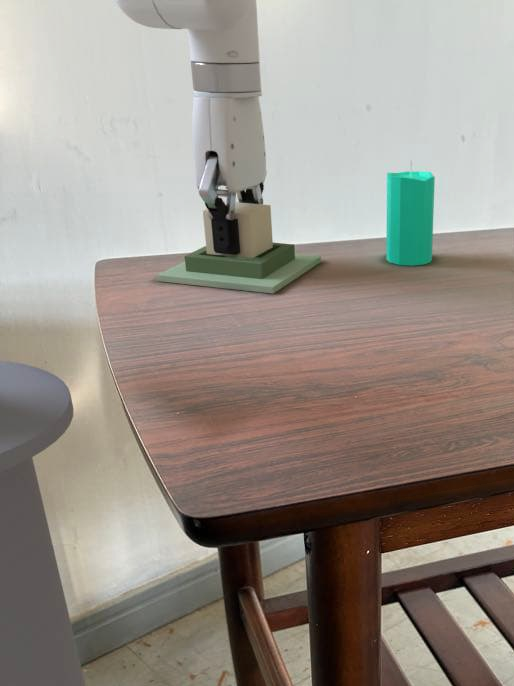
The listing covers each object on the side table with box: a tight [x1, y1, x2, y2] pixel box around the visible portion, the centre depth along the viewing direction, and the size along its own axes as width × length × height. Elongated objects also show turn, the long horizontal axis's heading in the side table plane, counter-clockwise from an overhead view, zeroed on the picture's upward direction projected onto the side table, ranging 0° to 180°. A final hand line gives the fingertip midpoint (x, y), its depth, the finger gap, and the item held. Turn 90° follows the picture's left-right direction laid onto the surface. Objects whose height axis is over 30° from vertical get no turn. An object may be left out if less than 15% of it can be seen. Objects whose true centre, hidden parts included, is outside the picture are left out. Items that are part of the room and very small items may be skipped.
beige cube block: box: [202, 200, 274, 258], centre depth 105 cm, size 6×6×5 cm
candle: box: [385, 160, 436, 266], centre depth 111 cm, size 6×6×12 cm
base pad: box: [156, 242, 322, 295], centre depth 107 cm, size 15×15×3 cm
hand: (239, 245), depth 106 cm, fingers closed on beige cube block, 5 cm apart
